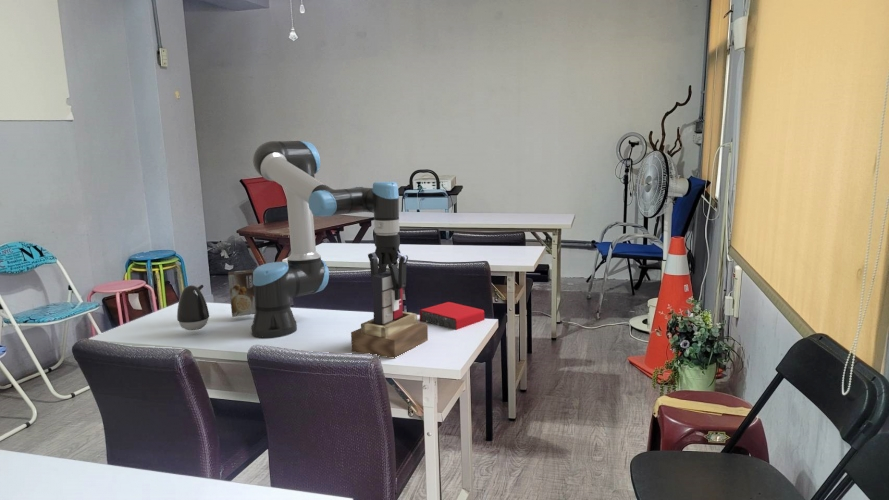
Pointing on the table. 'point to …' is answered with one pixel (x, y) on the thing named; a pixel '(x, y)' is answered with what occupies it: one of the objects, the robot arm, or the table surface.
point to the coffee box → (241, 292)
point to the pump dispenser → (192, 308)
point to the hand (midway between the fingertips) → (389, 309)
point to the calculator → (384, 299)
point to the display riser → (390, 336)
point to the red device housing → (452, 315)
